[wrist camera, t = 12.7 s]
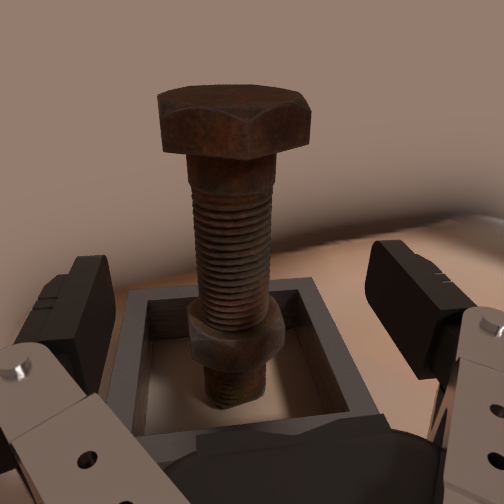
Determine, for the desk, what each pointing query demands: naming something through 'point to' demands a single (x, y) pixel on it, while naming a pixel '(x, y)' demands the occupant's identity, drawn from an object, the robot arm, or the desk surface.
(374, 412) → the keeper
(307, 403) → the desk surface
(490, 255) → the desk surface
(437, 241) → the desk surface
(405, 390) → the desk surface
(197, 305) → the bolt
